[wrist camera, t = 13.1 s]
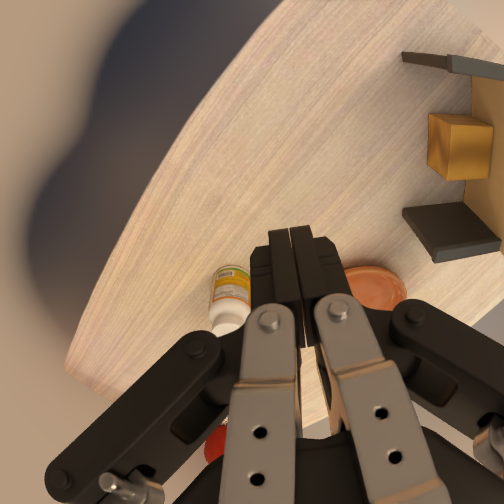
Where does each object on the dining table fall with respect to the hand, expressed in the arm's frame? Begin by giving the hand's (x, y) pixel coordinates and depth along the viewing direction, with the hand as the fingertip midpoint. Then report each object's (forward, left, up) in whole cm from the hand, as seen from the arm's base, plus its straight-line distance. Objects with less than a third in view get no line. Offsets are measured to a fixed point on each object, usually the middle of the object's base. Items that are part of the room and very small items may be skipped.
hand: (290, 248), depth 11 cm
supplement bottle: (+21, -8, -23) cm, 32 cm away
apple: (+74, -22, -23) cm, 80 cm away
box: (+4, +22, -23) cm, 32 cm away
